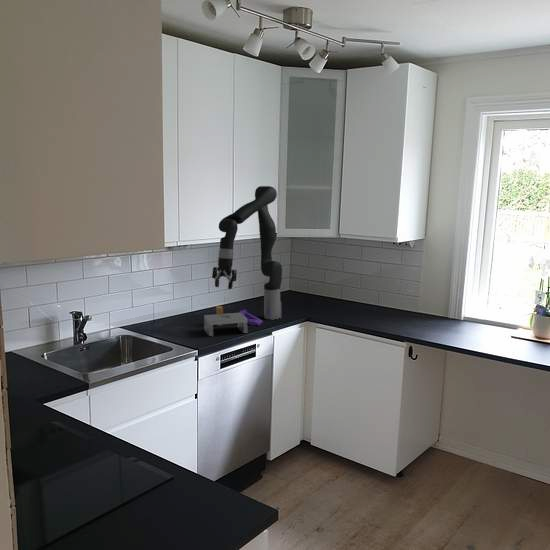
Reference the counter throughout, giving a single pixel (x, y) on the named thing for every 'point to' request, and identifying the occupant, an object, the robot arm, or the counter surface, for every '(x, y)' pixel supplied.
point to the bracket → (251, 318)
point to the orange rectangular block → (219, 311)
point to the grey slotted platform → (225, 321)
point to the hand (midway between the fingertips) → (223, 288)
